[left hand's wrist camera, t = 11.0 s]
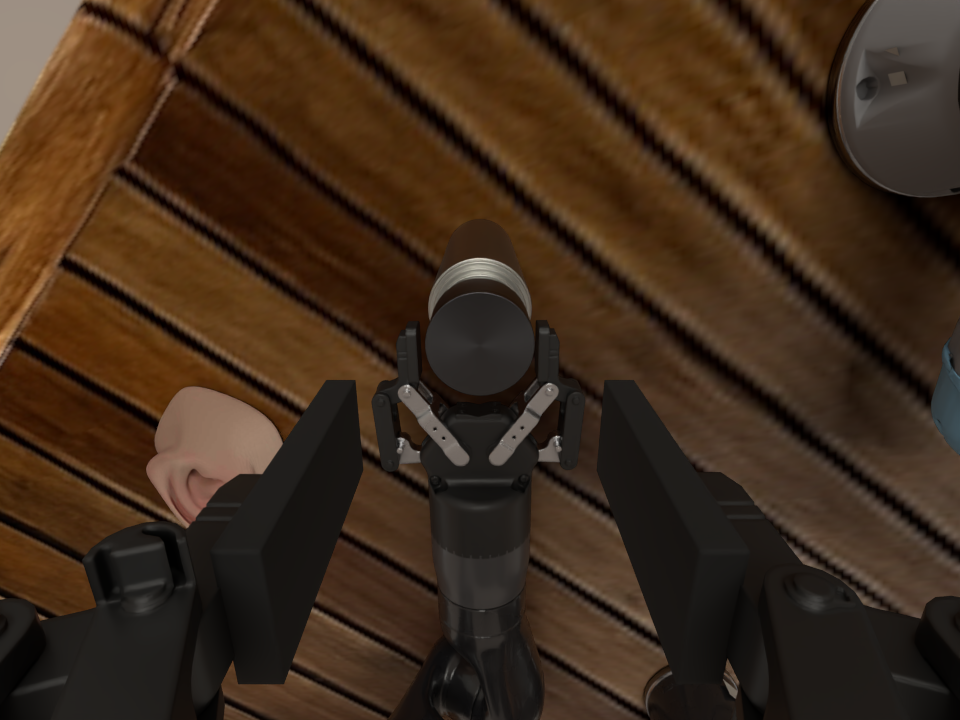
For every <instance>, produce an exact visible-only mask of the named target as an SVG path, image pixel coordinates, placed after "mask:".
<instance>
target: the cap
mask: <svg viewBox="0 0 960 720" xmlns="http://www.w3.org/2000/svg"><path fill="white" fill-rule="evenodd" d="M534 348H535V339H534V333H533V329H532V325H531V322H530V319H529V316H528V312H527V310H526V307H525V305H524V303H523V301H522V300H521V298H520V297H519V296H518V295H517V294H516V293H515V292H514V291H513V290H512V289H511V288H510V287H508V286H506V285H505V284H503V283H501V282H498V281H495V280H492V279H486V278H474V279H468V280H465V281H462V282H459V283H457V284H455V285H453V286H452V287H451V288H449V289H448V290H447V291H446V292H445V293H443V295H442V296H441V297H440V298H439V300H438V301H437V303H436V305H435V307H434V309H433V312H432V316H431V319H430V322H429V326H428V329H427V332H426V339H425V349H426V355H427V358H428V361H429V364H430V366H431V368H432V369H433V371H434V373H435V374H436V375H437V376H438V378H439V379H440V380H441V381H443V382H444V383H445V384H446V385H448V386H449V387H451V388H453V389H454V390H457V391H459V392H461V393H465V394H469V395H479V396H482V395H491V394H495V393H498V392H501V391H503V390H506V389H508V388H509V387H511V386H512V385H514V384H515V383H516V382H517V381H519V380H520V379H521V377H522V376H523V375H524V374H525V372H526V371H527V370H528V368H529V366H530V364H531V361H532V358H533V355H534Z"/></svg>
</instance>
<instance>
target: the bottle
mask: <svg viewBox="0 0 960 720" xmlns="http://www.w3.org/2000/svg"><path fill="white" fill-rule="evenodd" d="M474 278H486V279H492V280H495V281H498V282H501V283H503V284H505V285H506V286H508V287H510V288H511V289H512V290H513V291H514V292H515V293H516V294H517V295H518V296H519V297H520V298H521V300H522V301H523V303H524V305H525V307H526V310H527V312H528V316H529V319H530V318H531V312H532V304H531V297H530V294H529V291H528V288H527V285H526V282H525V279H524V277H523V274H522V271H521V268H520V265H519V263H518V260H517V257H516V254H515V251H514V249H513V246H512V243H511V240H510V238H509V236H508V234H507V233H506V232H505V230H504V229H503V228H502V227H500V226H499V225H498V224H496V223H494V222H492V221H489V220H484V219H476V220H471V221H468V222H466V223H464V224H462V225H461V226H459V227H458V228H457V229H456V230H455V232H454V233H453V234H452V236H451V238H450V240H449V243H448V246H447V248H446V251H445V254H444V257H443V260H442V262H441V265H440V268H439V271H438V274H437V276H436V279H435V282H434V285H433V287H432V290H431V293H430V297H429V303H428V312H429V319H431V316H432V312H433V309H434V307H435V305H436V303H437V301H438V300H439V298H440V297H441V296H442V295H443V293H445V292H446V291H447V290H448V289H449V288H451V287H452V286H453V285H455V284H457V283H459V282H462V281H465V280H468V279H474Z"/></svg>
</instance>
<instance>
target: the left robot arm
mask: <svg viewBox="0 0 960 720" xmlns="http://www.w3.org/2000/svg"><path fill="white" fill-rule="evenodd" d="M827 115H828V123H829V129H830V133H831V136H832V140H833V142H834V145H835V147H836V150H837V152H838V153H839V155H840V157H841V159H842V160H843V162H844V163H845V164H846V166H847V167H848V168H849V169H850V170H851V171H852V173H853V174H854V175H856V176H857V177H858V178H859V179H860V180H862V181H863V182H865V183H866V184H868V185H870V186H872V187H874V188H876V189H878V190H881V191H884V192H887V193H891V194H895V195H903V196H914V197H939V196H948V195H955V194H960V0H867V1H866V2H865V3H864V5H863V6H862V7H861V9H860V10H859V11H858V13H857V14H856V16H855V17H854V19H853V20H852V22H851V24H850V26H849V28H848V29H847V31H846V33H845V35H844V37H843V39H842V41H841V43H840V46H839V48H838V51H837V54H836V56H835V59H834V63H833V66H832V70H831V74H830V79H829V85H828V93H827ZM942 362H943V365H942V368H941V372H940V375H939V378H938V381H937V384H936V387H935V391H934V394H933V397H932V402H931V412H932V417H933V420H934V423H935V424H936V426H937V428H938V430H939V431H940V433H941V434H942V435H943V436H944V439H945V440H946V442H947V443H948V444H949V445H950V447H951V448H952V449H953V450H954V451H955V452H956V453H957V454H958V455H960V317H959V319H958V322H957V324H956V327H955V329H954V332H953V334H952V337H950V338H949V340H948V341H947V343H946V344H945V345H944V348H943V350H942ZM362 472H363V462H362V450H361V439H360V428H359V416H358V405H357V394H356V382H355V380H326V381H325V383H324V384H323V386H322V387H321V389H320V390H319V392H318V393H317V395H316V396H315V398H314V399H313V401H312V402H311V403H310V405H309V406H308V408H307V409H306V411H305V412H304V414H303V415H302V417H301V418H300V420H299V421H298V423H297V424H296V425H295V427H294V428H293V430H292V431H291V433H290V434H289V436H288V437H287V439H286V440H285V442H284V443H283V444H282V446H281V447H280V449H279V450H278V452H277V453H276V455H275V456H274V458H273V459H272V461H271V462H270V464H269V465H268V466H267V468H266V469H265V471H264V472H263V474H239V475H237V476H236V477H234V478H233V479H231V480H230V481H228V482H227V483H225V484H224V485H222V486H221V487H220V488H218V490H217V491H216V492H215V494H214V495H213V496H212V497H211V499H210V500H209V501H208V502H207V504H206V507H204V508H203V509H202V510H201V511H200V513H199V514H198V515H197V517H196V520H195V521H193V522H192V523H191V524H190V525H189V527H188V528H187V529H186V531H185V530H184V529H183V528H181V527H180V526H179V525H178V524H175V523H170V522H165V521H158V522H146V523H142V524H138V525H135V526H131V527H127V528H125V529H123V530H120V531H118V532H116V533H114V534H112V535H110V536H108V537H106V538H105V539H103V540H102V541H101V542H99V543H98V544H97V545H95V546H94V547H92V548H91V550H90V551H89V552H88V553H87V555H86V556H85V557H84V558H83V560H82V561H83V564H84V567H85V571H86V574H87V577H88V580H89V583H90V586H91V589H92V592H93V595H94V599H95V602H96V605H97V606H96V608H92V609H89V610H85V611H81V612H77V613H72V614H68V615H64V616H59V617H55V618H51V619H46V620H42V621H40V620H39V617H38V614H37V612H36V609H35V606H34V605H32V604H31V603H30V602H28V601H27V600H25V599H13V598H8V599H3V600H0V720H223V718H224V708H225V704H224V697H223V692H222V687H221V683H222V681H223V679H224V677H225V675H226V673H227V671H228V669H229V667H230V665H231V663H232V661H233V662H234V666H235V671H236V676H237V680H238V684H284V682H285V680H286V677H287V674H288V672H289V669H290V666H291V664H292V661H293V658H294V655H295V653H296V650H297V647H298V645H299V642H300V639H301V637H302V634H303V631H304V628H305V626H306V623H307V620H308V618H309V615H310V612H311V610H312V607H313V604H314V601H315V599H316V596H317V593H318V591H319V588H320V585H321V583H322V580H323V577H324V575H325V572H326V569H327V566H328V564H329V561H330V558H331V556H332V553H333V550H334V548H335V545H336V542H337V539H338V537H339V534H340V531H341V529H342V526H343V523H344V521H345V518H346V515H347V513H348V510H349V507H350V504H351V502H352V499H353V496H354V494H355V491H356V488H357V486H358V483H359V480H360V477H361V475H362ZM597 472H598V475H599V477H600V480H601V483H602V486H603V488H604V491H605V494H606V496H607V499H608V502H609V504H610V507H611V510H612V513H613V515H614V518H615V521H616V523H617V526H618V529H619V531H620V534H621V537H622V539H623V542H624V545H625V548H626V550H627V553H628V556H629V558H630V561H631V564H632V566H633V569H634V572H635V575H636V577H637V580H638V583H639V585H640V588H641V591H642V593H643V596H644V599H645V602H646V604H647V607H648V610H649V612H650V615H651V618H652V620H653V623H654V626H655V628H656V631H657V634H658V637H659V639H660V642H661V645H662V647H663V650H664V653H665V655H666V658H667V661H668V664H669V666H670V669H671V672H672V674H673V677H674V680H675V682H676V684H722V680H723V676H724V671H725V666H726V662H727V658H728V660H729V662H730V664H731V666H732V668H733V670H734V672H735V674H736V676H737V678H738V680H739V682H740V683H739V687H738V692H737V696H736V700H735V705H734V709H733V713H732V717H731V720H960V597H954V596H944V597H935V598H934V599H932V600H931V601H929V602H928V603H927V604H926V606H925V609H924V611H923V614H922V617H921V619H920V618H915V617H911V616H907V615H902V614H898V613H893V612H889V611H885V610H880V609H876V608H872V607H869V606H865V605H863V604H862V602H861V601H860V599H859V598H858V596H857V595H856V593H855V592H854V591H853V590H852V589H851V588H849V587H848V586H847V585H846V584H845V583H843V582H842V581H841V580H840V579H838V578H836V577H834V576H832V575H830V574H828V573H826V572H825V571H823V570H820V569H817V568H813V567H810V566H807V565H804V564H802V562H801V561H800V560H799V558H798V557H797V556H796V555H795V553H794V552H793V551H792V550H791V548H790V547H789V546H788V545H787V543H786V542H785V541H784V539H783V538H782V537H781V536H780V534H779V533H778V532H777V531H776V529H775V528H774V527H773V526H772V524H771V523H770V522H769V520H768V519H765V515H764V514H763V513H762V512H761V510H760V509H759V508H758V507H757V506H755V505H754V501H753V500H752V499H751V498H750V496H749V495H748V494H747V493H746V491H745V490H744V489H743V488H742V486H740V485H739V484H737V483H736V482H734V481H733V480H731V479H730V478H729V477H727V476H726V475H724V474H723V473H721V472H696V471H695V469H694V468H693V466H692V465H691V464H690V462H689V461H688V459H687V458H686V456H685V455H684V453H683V452H682V450H681V449H680V447H679V446H678V444H677V443H676V442H675V440H674V439H673V437H672V436H671V434H670V433H669V431H668V430H667V428H666V427H665V425H664V424H663V423H662V421H661V420H660V418H659V417H658V415H657V414H656V412H655V411H654V409H653V408H652V406H651V405H650V403H649V402H648V401H647V399H646V398H645V396H644V395H643V393H642V392H641V390H640V389H639V387H638V386H637V384H636V383H635V382H634V380H605V382H604V394H603V405H602V416H601V428H600V439H599V450H598V462H597Z"/></svg>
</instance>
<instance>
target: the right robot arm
mask: <svg viewBox="0 0 960 720" xmlns="http://www.w3.org/2000/svg"><path fill="white" fill-rule="evenodd" d="M396 349H397V362H398V376H399V377H398V378H396V379H394V380H391V381H388V380H384V381H382V382H380V383H379V385H378V387H377V391H376V393H375V395H374V396H373V398H372V408H373V414H374V421H375V427H376V433H377V439H378V445H379V451H380V458H381V464H382V467H383V468H384V469H385V470H386V471H389V472H392V471H395V470H396V469H397V468H398V466H399V464H407V463H422V465H423V466H424V468H425V469H426V471H427V474H428V484H429V501H430V519H431V536H432V553H433V562H434V567H435V571H436V575H437V584H438V602H439V618H440V624H441V628H442V631H443V635H442V636H441V637H440V638H439V639H438V640H437V642H436V643H435V644H434V646H433V647H432V649H431V651H430V652H429V654H428V656H427V658H426V660H425V662H424V663H423V665H422V667H421V669H420V671H419V672H418V674H417V676H416V678H415V679H414V681H413V682H412V684H411V686H410V687H409V689H408V690H407V692H406V693H405V695H404V697H403V698H402V700H401V701H400V703H399V704H398V706H397V707H396V709H395V710H394V712H393V713H392V714H391V716H390V717H389V718H388V719H387V720H444V719H443V718H442V717H443V716H444V715H447V716H449V717H450V718H452V719H453V720H540V718H541V715H542V710H543V705H544V695H545V686H544V675H543V669H542V665H541V661H540V658H539V654H538V651H537V648H536V645H535V642H534V638H533V635H532V632H531V628H530V625H529V622H528V620H527V617H526V614H525V591H526V573H527V568H528V563H529V554H530V518H531V475H532V471H533V468H534V466H535V465H536V464H537V462H538V461H545V462H560V465H561V467H562V468H563V469H565V470H571V469H573V468H575V467H576V465H577V461H578V453H579V445H580V438H581V430H582V422H583V414H584V406H585V397H584V395H583V392H582V390H581V388H580V385H579V383H578V381H577V380H575V379H572V378H570V379H566V378H563V377H560V376H559V375H558V366H559V340H558V337H557V335H556V332H555V330H554V328H552V329H549V324H548V322H547V320H536V337H535V372H536V377H535V379H534V380H533V381H532V382H531V383H530V385H529V386H528V387H527V388H526V389H525V390H524V391H521V392H520V393H519V394H518V395H517V397H516V398H515V399H514V400H513V401H512V403H511V404H510V405H509V406H508V407H506V406H504V405H501V402H487V403H483V404H474V403H469V402H457V405H455V406H452V407H451V408H450V407H449V406H448V405H447V404H446V403H445V402H444V400H443V399H442V398H441V397H440V396H439V395H438V394H437V393H436V392H433V391H432V390H431V389H430V388H429V387H428V386H427V385H426V384H425V383H424V381H423V380H422V379H421V378H420V377H421V373H422V357H421V339H420V323H419V321H409V322H408V324H407V326H406V330H401V333H400V335H399V337H398V340H397V343H396ZM553 400H557V401H560V410H559V419H558V429H557V430H553V431H552V432H550V433H549V434H548V436H547V439H546V441H545V442H543V443H541V444H537V442H536V440H535V438H534V437H533V436H532V435H531V434H530V431H531V430H532V429H533V428H534V427H535V426H536V424H537V423H538V422H539V420H540V417H541V415H542V413H543V412H544V411H545V410H546V409H547V407H548V406H549V405H550V404H551V403H552V402H553ZM399 402H403V403H404V404H405V405H406V406H407V407H408V408H409V409H410V410H411V411H412V412H413V414H414V415H415V416H416V418H417V421H418V423H419V424H420V425H421V427H422V428H423V429H424V430H425V431H426V432H427V433H428V435H427V437H426V438H425V439H424V441H423V442H422V445H416V444H415V443H413V441H412V440H411V437H410V435H409V434H407V433H406V432H401V427H400V420H399V413H398V406H397V403H399ZM737 692H738V689H737V686H736V684H735V682H734V680H733V678H732V676H731V675H730V674H729V673H728V672H727V671H726V670H725V671H724V676H723V680H722V684H676V682H675V680H674V677H673V674H672V672H671V669H670V666H669V667H666V668H665V669H663V670H661V671H660V672H658V673H657V674H656V675H655V676H654V677H653V678H652V679H651V680H650V681H649V683H648V685H647V686H646V689H645V692H644V703H645V706H646V710H647V713H648V715H649V717H650V719H651V720H731V717H732V713H733V709H734V705H735V700H736V696H737Z"/></svg>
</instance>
